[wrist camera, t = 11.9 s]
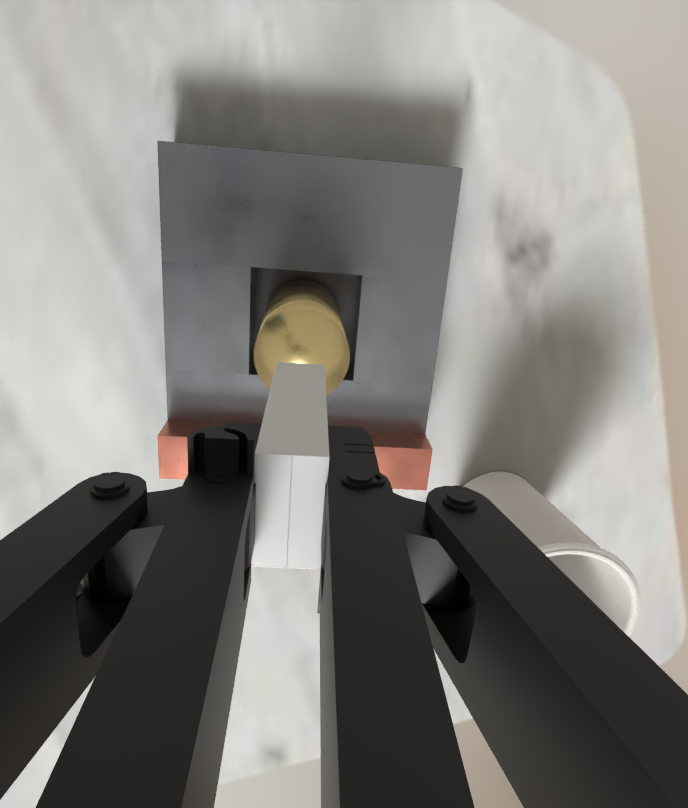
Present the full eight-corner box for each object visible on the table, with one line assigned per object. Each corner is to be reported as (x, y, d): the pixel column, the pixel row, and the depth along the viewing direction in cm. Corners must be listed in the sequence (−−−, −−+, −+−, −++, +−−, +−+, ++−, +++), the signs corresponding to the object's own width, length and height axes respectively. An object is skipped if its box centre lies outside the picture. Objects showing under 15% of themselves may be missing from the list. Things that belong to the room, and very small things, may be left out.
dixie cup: (475, 583, 38) (527, 709, 29) (405, 502, 35) (437, 611, 26) (580, 517, 36) (671, 627, 27) (515, 427, 34) (590, 514, 25)
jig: (173, 146, 27) (144, 136, 23) (448, 170, 28) (474, 165, 24) (181, 438, 33) (159, 478, 28) (411, 449, 34) (426, 490, 29)
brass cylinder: (265, 349, 31) (253, 399, 23) (266, 277, 29) (254, 306, 22) (336, 352, 31) (346, 403, 24) (341, 281, 30) (353, 312, 22)
